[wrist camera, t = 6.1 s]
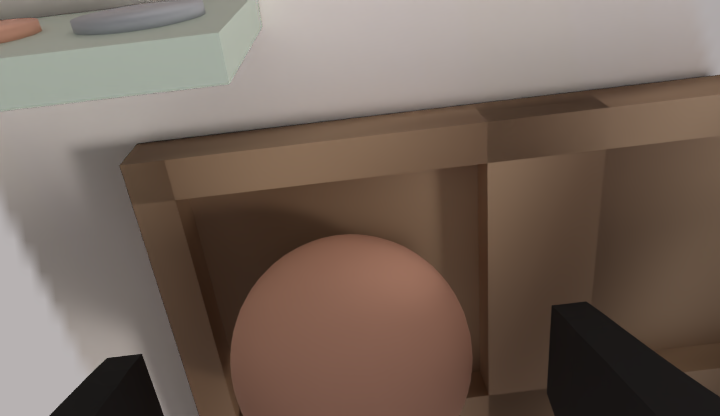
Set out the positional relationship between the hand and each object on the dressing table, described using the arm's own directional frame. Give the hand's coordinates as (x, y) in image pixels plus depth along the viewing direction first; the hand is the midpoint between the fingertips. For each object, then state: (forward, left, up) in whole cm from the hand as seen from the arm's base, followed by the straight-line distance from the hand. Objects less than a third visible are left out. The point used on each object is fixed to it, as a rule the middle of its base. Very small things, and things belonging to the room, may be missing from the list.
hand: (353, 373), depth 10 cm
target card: (+4, -6, -3) cm, 7 cm away
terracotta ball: (0, 0, -3) cm, 3 cm away
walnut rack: (-4, +4, -3) cm, 6 cm away
